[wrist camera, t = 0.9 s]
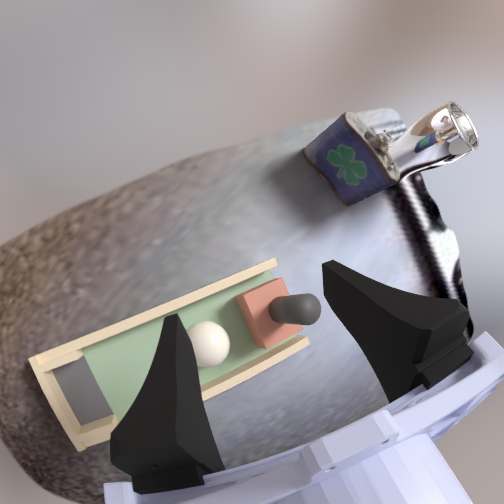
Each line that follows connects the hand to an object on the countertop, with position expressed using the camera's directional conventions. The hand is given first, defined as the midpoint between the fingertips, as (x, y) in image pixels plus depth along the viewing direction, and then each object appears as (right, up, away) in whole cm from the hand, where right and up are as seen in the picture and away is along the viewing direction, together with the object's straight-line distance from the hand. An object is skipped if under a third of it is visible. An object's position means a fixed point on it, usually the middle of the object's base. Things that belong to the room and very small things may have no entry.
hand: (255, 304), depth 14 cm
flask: (+9, +12, +22) cm, 27 cm away
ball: (-4, -5, +10) cm, 12 cm away
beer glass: (+20, +15, +27) cm, 37 cm away
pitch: (-8, -7, +12) cm, 16 cm away
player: (+1, -3, +15) cm, 15 cm away
